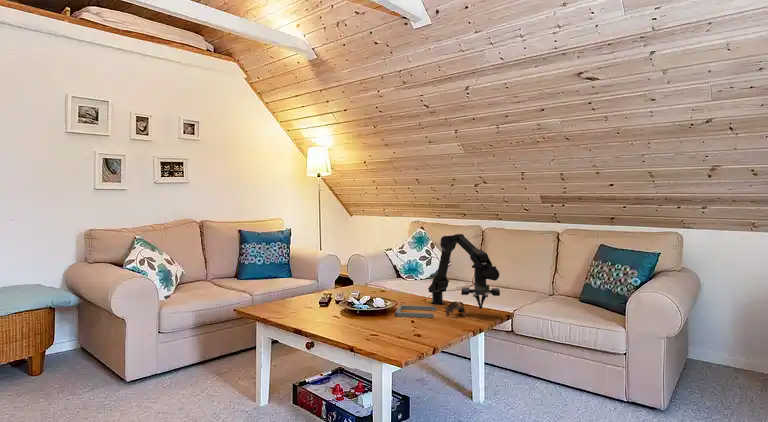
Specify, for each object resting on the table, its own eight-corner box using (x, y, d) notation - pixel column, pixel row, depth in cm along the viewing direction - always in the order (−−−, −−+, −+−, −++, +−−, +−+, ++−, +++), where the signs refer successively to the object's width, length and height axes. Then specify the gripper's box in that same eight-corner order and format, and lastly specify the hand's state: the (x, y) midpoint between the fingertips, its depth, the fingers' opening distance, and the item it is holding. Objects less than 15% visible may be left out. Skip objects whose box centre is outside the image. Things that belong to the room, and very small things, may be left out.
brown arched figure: (464, 320, 245) (455, 305, 245) (449, 325, 250) (440, 311, 250) (472, 308, 255) (463, 294, 255) (457, 314, 260) (448, 301, 260)
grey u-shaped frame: (400, 308, 267) (400, 305, 267) (436, 310, 263) (436, 306, 263) (395, 316, 251) (394, 312, 251) (433, 317, 247) (433, 313, 247)
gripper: (460, 280, 244) (461, 311, 245) (500, 281, 240) (500, 313, 241) (461, 276, 255) (462, 306, 255) (499, 277, 251) (499, 307, 252)
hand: (480, 308), depth 251 cm, fingers closed
